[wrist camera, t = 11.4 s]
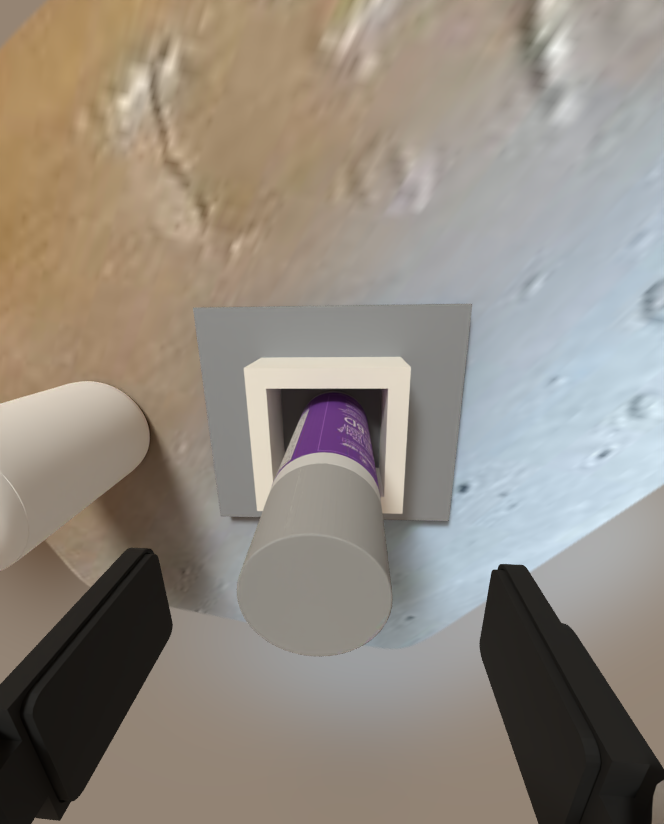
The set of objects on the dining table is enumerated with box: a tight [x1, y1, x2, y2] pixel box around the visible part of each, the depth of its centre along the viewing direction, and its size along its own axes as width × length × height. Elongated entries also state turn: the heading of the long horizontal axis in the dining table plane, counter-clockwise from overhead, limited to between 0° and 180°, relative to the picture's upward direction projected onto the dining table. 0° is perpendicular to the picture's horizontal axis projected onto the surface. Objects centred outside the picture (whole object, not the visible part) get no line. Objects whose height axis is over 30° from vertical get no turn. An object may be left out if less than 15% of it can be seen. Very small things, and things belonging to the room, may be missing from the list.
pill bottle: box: [0, 381, 150, 571], centre depth 19 cm, size 8×8×15 cm
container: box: [237, 391, 392, 656], centre depth 17 cm, size 5×5×15 cm
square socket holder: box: [193, 304, 472, 521], centre depth 23 cm, size 18×16×5 cm
